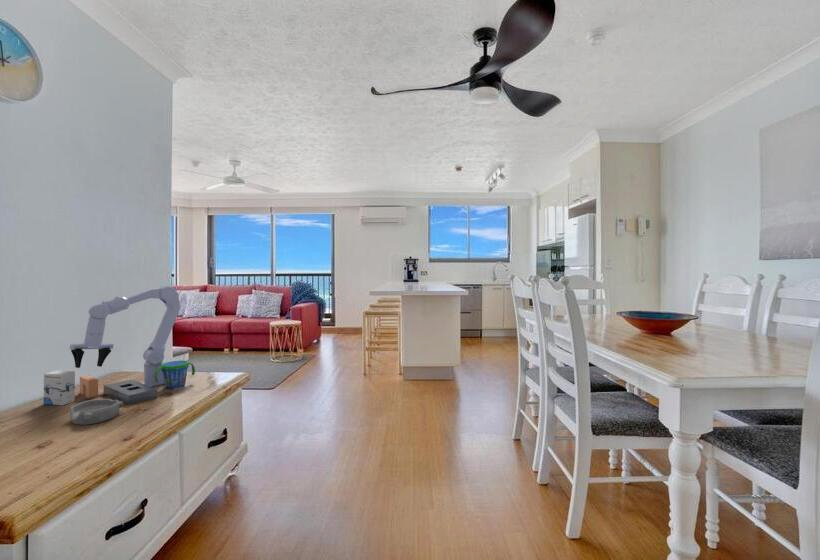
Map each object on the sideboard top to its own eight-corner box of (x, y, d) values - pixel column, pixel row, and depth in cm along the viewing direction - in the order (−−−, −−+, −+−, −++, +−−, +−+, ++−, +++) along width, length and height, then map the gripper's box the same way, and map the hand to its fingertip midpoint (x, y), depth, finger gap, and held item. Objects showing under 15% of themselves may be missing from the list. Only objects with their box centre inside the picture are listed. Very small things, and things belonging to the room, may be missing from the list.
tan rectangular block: (88, 391, 165) (88, 375, 165) (98, 395, 159) (97, 378, 159) (79, 393, 162) (79, 376, 162) (89, 397, 157) (88, 380, 156)
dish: (91, 428, 127) (91, 412, 127) (57, 424, 130) (57, 409, 130) (131, 412, 141) (131, 398, 141) (99, 409, 144) (99, 396, 144)
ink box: (42, 404, 149) (42, 373, 148) (56, 400, 154) (55, 370, 153) (63, 405, 148) (62, 374, 148) (76, 401, 153) (75, 371, 153)
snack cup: (157, 392, 164) (156, 368, 164) (152, 386, 172) (151, 363, 172) (198, 385, 175) (198, 362, 174) (191, 380, 182) (191, 358, 182)
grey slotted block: (131, 387, 171) (131, 379, 171) (157, 397, 157) (157, 388, 157) (103, 393, 162) (103, 385, 162) (128, 404, 149) (128, 395, 149)
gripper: (109, 332, 170) (103, 364, 168) (68, 332, 157) (61, 366, 155) (118, 334, 166) (112, 366, 165) (77, 334, 153) (71, 369, 152)
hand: (88, 366), depth 160 cm, fingers open, 7 cm apart
